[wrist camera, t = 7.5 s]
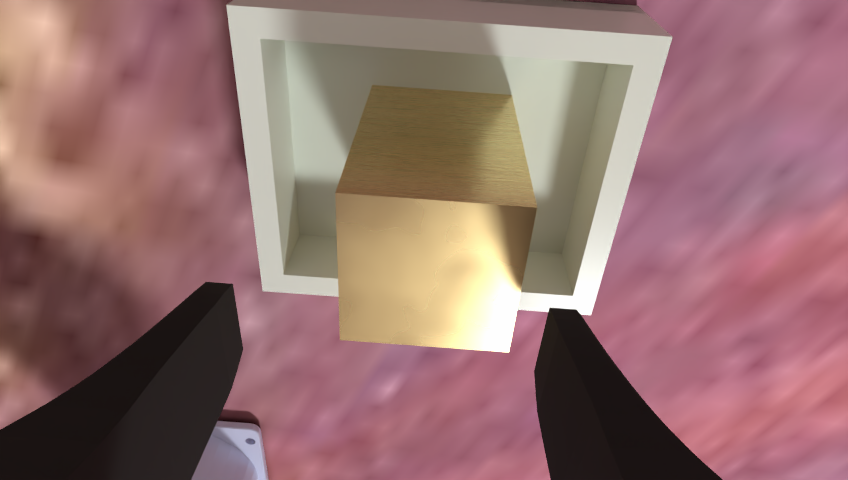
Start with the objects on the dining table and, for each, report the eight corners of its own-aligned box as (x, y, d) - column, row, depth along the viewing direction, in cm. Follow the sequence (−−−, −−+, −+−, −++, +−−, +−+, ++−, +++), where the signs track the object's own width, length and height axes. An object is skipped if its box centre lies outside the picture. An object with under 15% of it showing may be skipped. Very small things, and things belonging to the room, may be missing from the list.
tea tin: (494, 213, 21) (509, 352, 15) (371, 204, 21) (339, 340, 15) (512, 94, 19) (537, 207, 13) (372, 84, 19) (334, 192, 13)
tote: (574, 256, 23) (590, 314, 20) (286, 235, 23) (262, 291, 21) (637, 5, 18) (672, 36, 15) (262, -21, 18) (226, 4, 15)
